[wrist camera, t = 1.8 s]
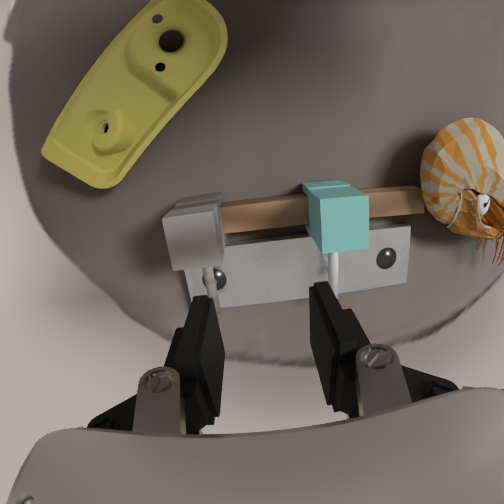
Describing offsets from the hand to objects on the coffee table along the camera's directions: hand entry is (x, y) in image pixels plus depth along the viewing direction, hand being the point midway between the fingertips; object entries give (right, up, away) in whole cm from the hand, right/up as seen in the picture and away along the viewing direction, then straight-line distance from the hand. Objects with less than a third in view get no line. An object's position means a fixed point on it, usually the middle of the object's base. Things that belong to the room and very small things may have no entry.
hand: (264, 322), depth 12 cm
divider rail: (+6, +5, +19) cm, 20 cm away
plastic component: (-12, +19, +14) cm, 26 cm away
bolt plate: (+5, +1, +20) cm, 21 cm away
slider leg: (+7, +5, +19) cm, 20 cm away
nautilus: (+26, +9, +18) cm, 33 cm away
